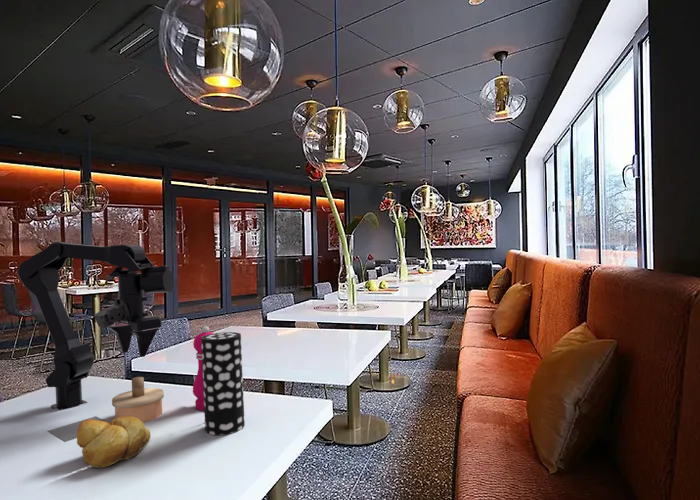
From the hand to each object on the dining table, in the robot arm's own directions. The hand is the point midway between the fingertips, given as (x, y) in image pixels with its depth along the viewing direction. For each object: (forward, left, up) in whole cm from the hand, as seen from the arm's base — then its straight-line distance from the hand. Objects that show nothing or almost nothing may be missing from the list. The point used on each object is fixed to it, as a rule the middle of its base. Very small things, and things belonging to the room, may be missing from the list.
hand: (133, 354), depth 115 cm
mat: (+6, -15, -13) cm, 21 cm away
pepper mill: (+17, +10, -13) cm, 24 cm away
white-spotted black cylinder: (+32, +4, -13) cm, 35 cm away
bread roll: (+26, -16, -13) cm, 33 cm away
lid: (+10, -4, -9) cm, 14 cm away
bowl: (+10, -4, -13) cm, 17 cm away
